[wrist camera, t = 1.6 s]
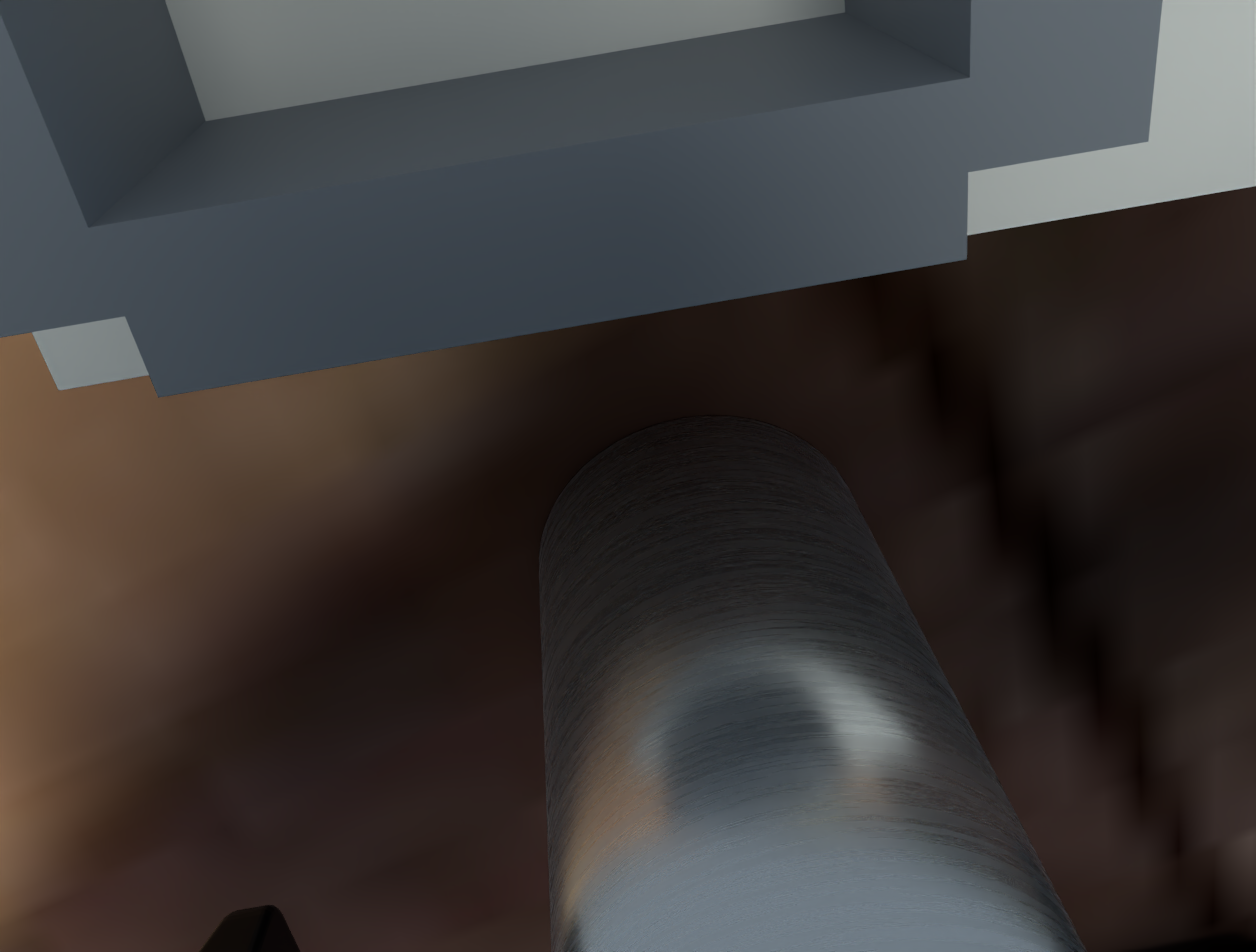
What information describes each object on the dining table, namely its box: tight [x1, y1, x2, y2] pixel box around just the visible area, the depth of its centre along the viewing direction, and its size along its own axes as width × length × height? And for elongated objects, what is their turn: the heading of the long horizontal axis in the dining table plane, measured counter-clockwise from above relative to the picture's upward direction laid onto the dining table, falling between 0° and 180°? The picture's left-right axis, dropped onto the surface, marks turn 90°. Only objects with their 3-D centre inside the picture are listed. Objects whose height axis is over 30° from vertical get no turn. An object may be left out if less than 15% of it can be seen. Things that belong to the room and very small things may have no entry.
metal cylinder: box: [539, 416, 1087, 952], centre depth 10 cm, size 4×4×9 cm
